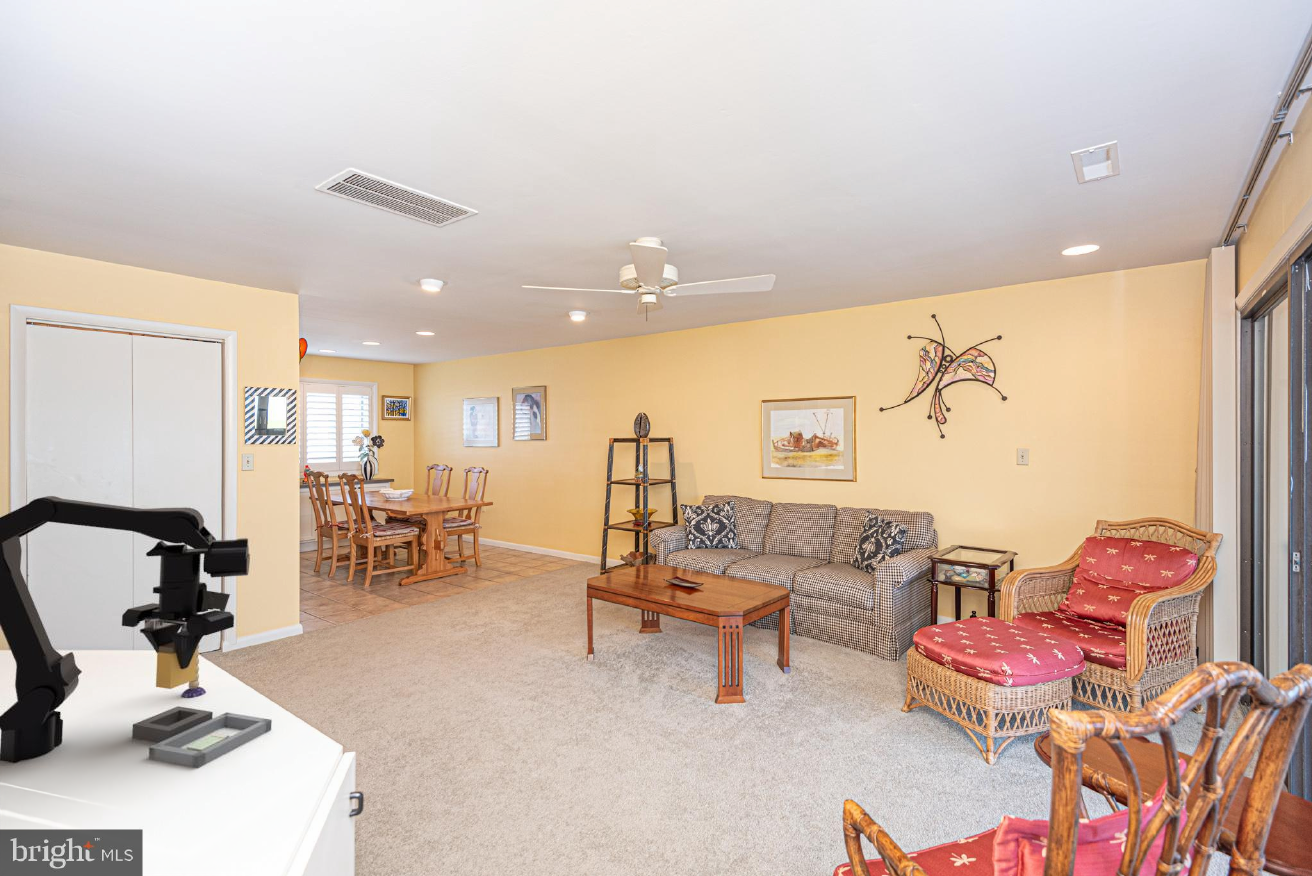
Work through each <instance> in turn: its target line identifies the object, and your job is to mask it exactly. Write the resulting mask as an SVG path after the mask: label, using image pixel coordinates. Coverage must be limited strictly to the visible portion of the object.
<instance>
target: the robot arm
mask: <svg viewBox="0 0 1312 876" xmlns="http://www.w3.org/2000/svg"><path fill="white" fill-rule="evenodd" d="M46 523H47V524H48V523H56V524H65V525H74V526H84V527H89V528H90V527H92V528H100V529H110V530H118V531H128V532H134V533H137V534H141V535H144V536H146V537H149V538H151V539H155V540H159V541H158V542H156V544H155V545H154V546H153V548H151V549H150V550H149V551H147V552H146V554H145V556H146V557H160V562H159V563H160V564H159V565H160V569H159V585H158V586H153V587H152V594H158V603H155V602H154V603H153V602H152V603H148V604H143V605H140V606H133V607H130V608H128V609H126V610H125V612H123V614H122V616H121V626H122V627H129V628H135V627H137V626H138V625H140V623H141V622H144V628H141V629H139V633H140V634H143V635H144V637H145V638H146V640H147V641H148V642H149V644H150V645H151V646H152V648H153V650H154V651H155V652H156V653H155V654H157V652H159V646H162V645H166V644H169V643H172V642H174V645H175V650H176V654H177V658H178V662H179V665H180V668H181V669H185V668H187V667H188V666H189V664H190V662H191V659H192V657H193V655H194V653H195V650H196V648H197V646H198V644H199V643H200V642H201V640H202V638H203V637H205V636H209V635H212V634H215V633H218V632H223V631H225V630H228V629H232V628H234V626H235V625H234V624H235V615H234V614H233V613H232V612H231V611H226V607H227V605H228V603H229V599H230V596H231V594H229V593H226V592H225V593H224V592H219V591H213V590H212V591H211V590H208V586H207V584H206V582H202V581H200V579H201V556H202V555H203V565H202V567H203V569H202V570H203V573H206V575H210V576H209V577H210V578H212V579H213V578H223V577H224V578H225V577H229V578H230V577H243V576H248V575H249V571H250V562H251V561H250V560H251V558H250V557H251V554H250V553H249V552H250V551H249V550H250V549H249V539H248V538H247V537H245V538H244V537H243V538H236V539H223V540H221V539H219V540H218V539H216V537H215V536H214V535H213V534H212V533H211V531H210V530H208V528H207V527H206V526H205V521H204V517H203V515H202V514H201V512H200V511H199V510H197V509H195V508H191V507H160V508H159V507H155V508H139V507H131V506H130V507H129V506H123V505H117V504H116V505H115V504H107V503H101V502H100V503H98V502H92V501H84V500H83V501H82V500H75V499H67V498H61V497H59V496H55V495H47V496H42V497H39V498H38V497H37V498H34V499H32V500H31V501H29V502H28V503H27V504H25V505H23V506H21V507H19V508H17V509H15V510H13V511H11V512H9V513H6V514H5V515H2V516H0V629H1V631H2V632H3V635H4V636H3V637H4V638H5V641H6V643H7V645H8V646H9V647H8V648H9V649H10V651H11V655H12V657H13V659H14V661H15V666H16V668H15V669H16V670H15V679H14V680H15V681H14V683H15V684H14V687H15V693H16V699H17V700H16V701H15V702H14V703H13V704H12V705H11V706H10V707H8V709H7V710H6V711H4V712H3V713H2V714H0V762H5V763H10V764H17V763H19V762H22V761H29V760H32V759H36V758H39V757H42V756H45V755H47V754H49V753H51V752H52V751H53V750H54V749H55V748H57V747H60V745H62V743H63V730H64V729H63V727H64V720H63V719H62V718H61V714H62V712H61V711H57V710H56V709H58V708H59V707H60V706H61V705H62V704H63V703H64V702H65V701H66V700H67V699H68V698H69V697H70V696H71V695H72V694H73V693H74V691H75V690H76V689H77V687H78V685H79V683H80V682H79V681H80V679H79V676H80V675H81V674H82V671H83V670H81V669H80V668H78V665H77V664H76V660H75V655H74V652H72V651H70V652H68V653H66V654H64V655H62V654H61V653H60V652H59V651H57V650H56V649H55V648H54V647H53V646H52V642H51V641H50V638H49V636H48V633H47V632H46V629H45V626H44V623H43V622H42V619H41V617H40V614H39V612H38V609H37V607H36V604H35V602H34V600H33V597H32V595H31V592H30V591H29V588H28V586H27V583H26V580H25V578H24V576H23V573H22V569H21V565H22V552H23V551H22V546H21V545H22V544H21V539H20V538H22V537H24V536H26V535H28V534H29V533H32V532H33V531H34V530H36V529H38V528H40V527H42V526H44V525H45V524H46ZM165 542H166V543H165ZM167 543H170V544H167ZM188 546H189V547H190V548H188ZM209 610H210V611H209ZM197 614H199V615H197ZM184 618H185V619H184ZM182 625H184V628H183V631H181V627H182ZM180 631H181V632H180Z"/></svg>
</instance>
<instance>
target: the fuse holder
mask: <svg viewBox="0 0 1312 876" xmlns="http://www.w3.org/2000/svg"><path fill="white" fill-rule="evenodd" d="M213 714H214V713H213V711H211V710H203V709H198V708H192V707H186V706H180V705H179V706H178V705H177V706H174V707H172V708H170V709H167V710H165V711H162V712H160V713H158V714H155V715H152V716H149V717H147V718H145V719H143V720H140V721H138V722H136V723H132V733H131V734H132V735H131V737H132V738H131V739H135V740H141V741H147V742H152V743H155V744H158V743H160V742H162V741H164V740H166V739H169V738H171V737H173V736H175V735H177V734H180V733H182V732H184V731H186V730H189V729H191V728H193V727H195V726H197V725H200V724H202V723H204V722H206V721H209V720H211V719H213Z"/></svg>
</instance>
